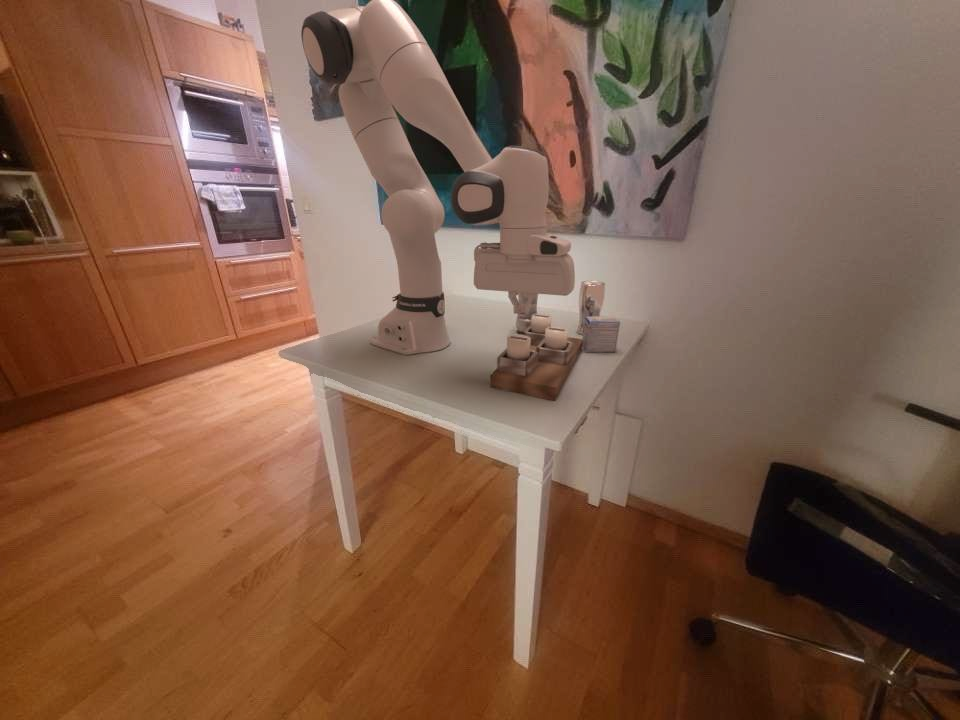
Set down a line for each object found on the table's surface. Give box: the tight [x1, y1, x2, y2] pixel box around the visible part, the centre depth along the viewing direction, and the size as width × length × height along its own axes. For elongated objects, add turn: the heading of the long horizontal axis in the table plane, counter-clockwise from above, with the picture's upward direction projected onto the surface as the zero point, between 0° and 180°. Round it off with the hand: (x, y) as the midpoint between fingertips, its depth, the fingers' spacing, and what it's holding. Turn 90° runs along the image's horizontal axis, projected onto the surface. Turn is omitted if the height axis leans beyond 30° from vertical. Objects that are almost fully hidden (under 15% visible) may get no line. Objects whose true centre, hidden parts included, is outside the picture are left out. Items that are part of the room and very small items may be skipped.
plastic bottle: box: [515, 292, 539, 334], centre depth 107 cm, size 6×7×20 cm
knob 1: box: [506, 334, 531, 360], centre depth 78 cm, size 5×5×4 cm
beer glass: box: [576, 280, 606, 336], centre depth 108 cm, size 7×7×15 cm
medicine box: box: [582, 315, 621, 353], centre depth 96 cm, size 8×4×9 cm, turn 92°
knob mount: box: [489, 325, 583, 402], centre depth 87 cm, size 14×30×6 cm, turn 156°
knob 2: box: [531, 313, 553, 334], centre depth 93 cm, size 5×5×4 cm
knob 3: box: [544, 325, 569, 350], centre depth 83 cm, size 5×5×4 cm
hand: (521, 313), depth 75 cm, fingers closed
